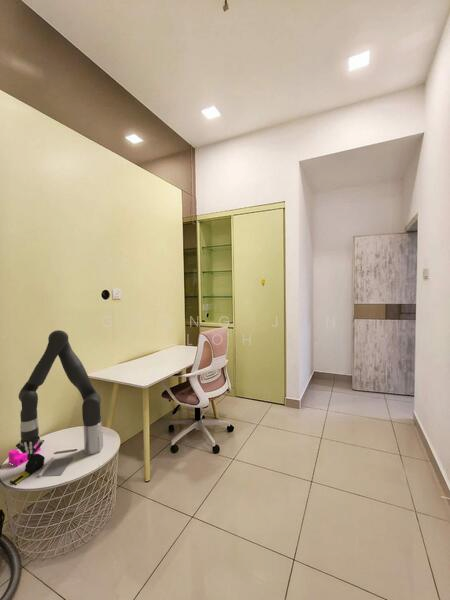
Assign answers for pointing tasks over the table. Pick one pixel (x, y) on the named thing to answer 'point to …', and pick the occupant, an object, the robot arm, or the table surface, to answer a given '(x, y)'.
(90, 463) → the table surface
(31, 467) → the tape measure
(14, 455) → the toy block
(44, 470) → the mat
